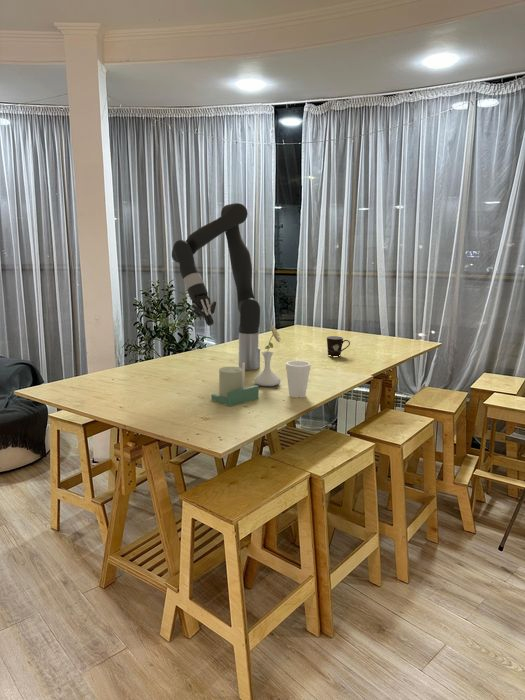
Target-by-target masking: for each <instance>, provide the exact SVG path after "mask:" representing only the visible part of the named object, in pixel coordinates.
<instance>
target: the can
mask: <svg viewBox="0 0 525 700" xmlns="http://www.w3.org/2000/svg"><path fill="white" fill-rule="evenodd" d="M218 371H219V372H218V373H219V382H218V383H219V384H218V385H219V386H218V387H219V390H218V391H219V393H218V396H221V397H224V398H226V399H227V393H228V392H232V391H236V390H240V389H242V368H239V366H223V367H220V368H219V369H218Z"/></svg>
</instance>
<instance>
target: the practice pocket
mask: <svg viewBox="0 0 525 700" xmlns="http://www.w3.org/2000/svg"><path fill="white" fill-rule="evenodd" d="M245 383H246V370H245V363H242V389H240V390H236V391H232V392H228V393H227V399H226V398H224V397H221V396H219V394H216V393H213V394H211V399H212V401H214V402H217V403H219V404H222V405H225V406H227V407H233V406H236V405H240V404H243V403H246V402H251V401H253V400H254V401H255V400H257V399H259V396H260V395H259V392H260V389H259V388H260V387H259V386H260V385H258V384H255V385H252V386H248V387H245V385H246V384H245Z"/></svg>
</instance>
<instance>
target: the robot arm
mask: <svg viewBox="0 0 525 700" xmlns="http://www.w3.org/2000/svg"><path fill="white" fill-rule="evenodd" d="M220 211H221V212H220V217H218V218H216V219H215V220H212V221H210V222H208V223H206V224H205V225H203V226H201V227H199V228H197V230H195V231H194V232H191V234H190V235H189V236H188V237H187V239H185V240H184V239H178V240H176V241H175V242H174V243H173V247H172V250H171V258H172V260H173V261H174V262H175V263H178V264H179V272H180V276H181V277H182V279H183V283H184V286H185V290H186V291H187V294H188V297H189V299H190V301H191V305H190V306H189V307H188V308H189V310H190V311H192V313H194V314H195V315H196V316H198V317H200V318H202V319H203V318H204V321H205V324H206V325H207V326H208V327H209V326H213V325H214V323H215V322H214V318H213V316H212V315H213V314H215V310H216V306H217V302H216V301H212V300H211V298H210V297H209V295H208V294H209V292H208V289H207V287H206V285H205V283H204V281H203V278H202V276H201V274H200V273H199V270H198V267H197V264H196V262H195V257H194V254H195V253H197V251H199V250H200V249H202V248H203V247H204V246H206V245H207V244H209V243H210V242H211V241H213V240H214V239H215V238H217V237H219V236H220V235H221V234H223V233H225V237H226V242H227V248H228V253H229V259H230V260H229V261H230V266H231V270H232V275H233V280H234V283H235V287H236V288H235V289H236V297H237V310H238V312H239V326H238V367H239V368H242V363H245V371H253V370H257V369H260V368H261V348H260V347H259V339H260V338H259V333H260V332H259V331H260V330H259V329H260V324H261V306H260V303H259V302H258V300H256V298H255V295H254V290H253V283H252V282H253V264H252V258H251V253H250V251H249V249H248V247H247V245H246V243H245V241H244V239H243V238H242V235H241V231H240V230H241V229H240V225H242V224H243V223H245V221H246V220H247V218H248V209H247V207H246V206H245V205H244V203H240V202H234V203H229V204H226V205H224V206H223V207H222V208H221V210H220Z"/></svg>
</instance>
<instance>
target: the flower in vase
mask: <svg viewBox="0 0 525 700" xmlns="http://www.w3.org/2000/svg"><path fill="white" fill-rule="evenodd" d="M270 331H271V333H272V335H271V337H270V339H269V341H268V345H265V347H264V349H265V350H266V351H262V352H261V354H262V355H263V360H264V368H263V370H262V371H261V372H260V373H258V374H257V375H256V376H255V377H254V379H253V382H254V384H255V385H257V386H262V387H274V386H277V385H279V384H280V383H281V378H280V377H279V376H278V375H277V374H275V372H274V371H272V370H271V359H272V356H273V355H274V351H269V350H270V349H273V348H274V344H273V343H272V342H271V341H272V338H273V337H274V339H275V340H276V342H278V343H281V340H282V339H281V338H280V334H279V333H278V330H277V328H275V326H274V325H270Z"/></svg>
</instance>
